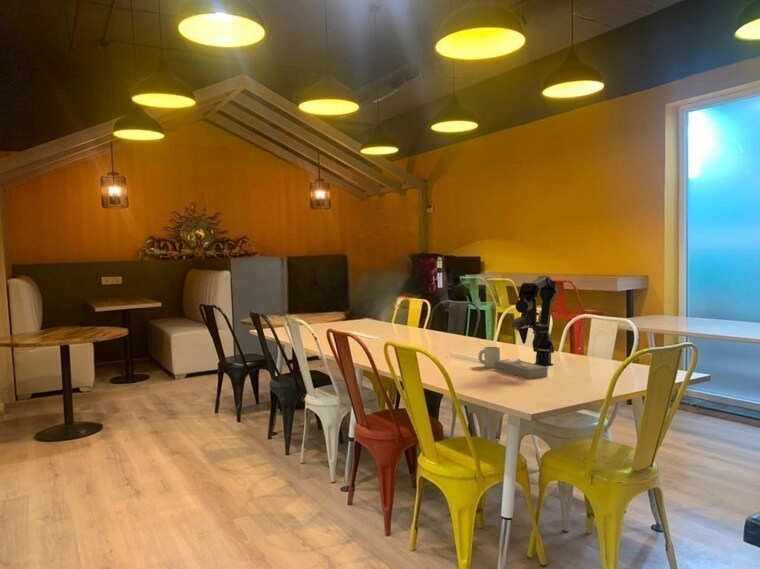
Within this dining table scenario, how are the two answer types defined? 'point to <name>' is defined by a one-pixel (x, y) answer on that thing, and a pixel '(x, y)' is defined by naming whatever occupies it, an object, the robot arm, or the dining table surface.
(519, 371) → the grey rocker switch panel
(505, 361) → the rocker
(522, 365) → the rocker
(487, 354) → the cup
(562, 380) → the dining table surface
